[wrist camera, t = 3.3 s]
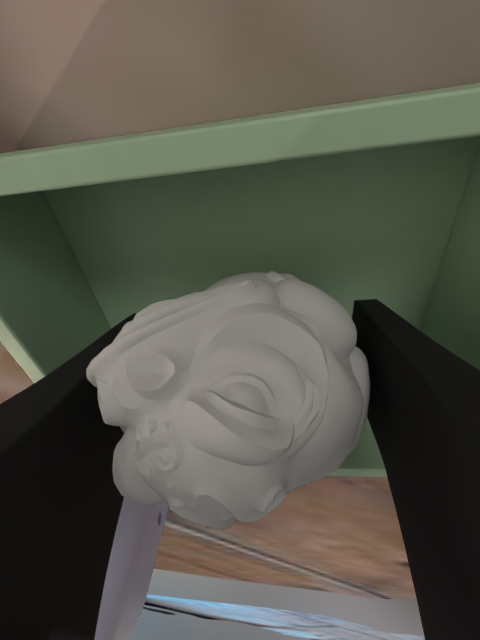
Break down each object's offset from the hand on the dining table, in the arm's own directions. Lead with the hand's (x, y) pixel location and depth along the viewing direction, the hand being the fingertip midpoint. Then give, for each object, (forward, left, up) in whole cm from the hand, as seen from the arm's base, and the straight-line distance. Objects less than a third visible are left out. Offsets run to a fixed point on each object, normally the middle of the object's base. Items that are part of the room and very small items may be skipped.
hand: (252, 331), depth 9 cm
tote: (0, 0, -2) cm, 2 cm away
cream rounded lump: (0, 0, -2) cm, 2 cm away
